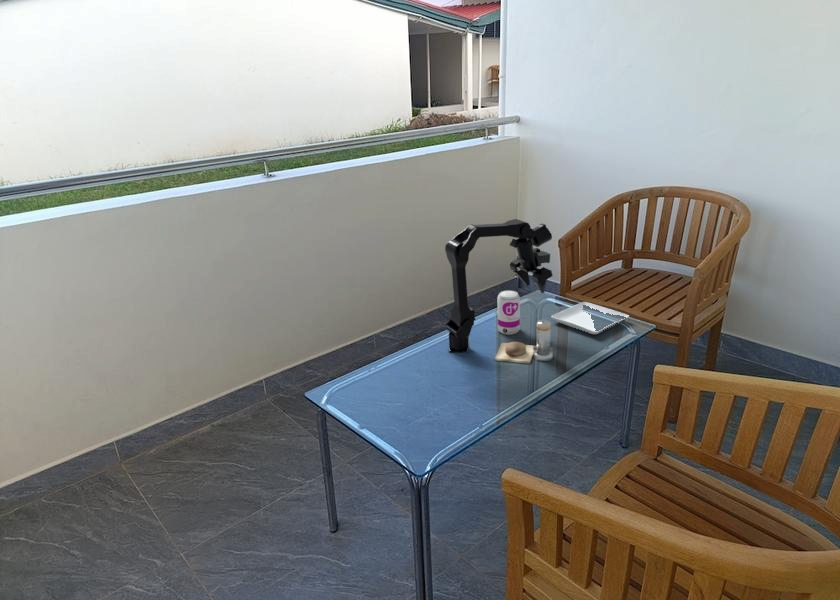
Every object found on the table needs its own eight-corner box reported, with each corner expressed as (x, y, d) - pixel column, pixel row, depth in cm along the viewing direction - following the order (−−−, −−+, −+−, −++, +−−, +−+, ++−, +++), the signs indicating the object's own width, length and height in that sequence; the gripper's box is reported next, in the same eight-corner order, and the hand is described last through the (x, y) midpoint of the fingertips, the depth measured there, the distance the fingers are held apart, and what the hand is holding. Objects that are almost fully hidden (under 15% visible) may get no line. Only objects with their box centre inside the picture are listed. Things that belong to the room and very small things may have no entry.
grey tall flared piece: (531, 360, 204) (532, 325, 199) (534, 351, 209) (535, 317, 204) (551, 362, 201) (552, 327, 197) (554, 353, 207) (554, 319, 202)
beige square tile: (494, 360, 205) (494, 352, 204) (502, 344, 216) (501, 337, 214) (530, 363, 201) (530, 355, 200) (535, 347, 212) (535, 340, 211)
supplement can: (521, 334, 222) (521, 297, 217) (498, 335, 223) (498, 298, 217) (518, 325, 230) (518, 289, 224) (496, 326, 230) (496, 290, 224)
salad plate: (583, 307, 242) (584, 300, 241) (630, 323, 227) (630, 314, 225) (549, 323, 230) (549, 315, 229) (595, 340, 215) (596, 332, 213)
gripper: (560, 248, 208) (568, 286, 216) (528, 236, 224) (538, 272, 232) (534, 263, 206) (544, 300, 213) (504, 249, 221) (514, 285, 229)
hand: (535, 289), depth 222 cm, fingers open, 9 cm apart
